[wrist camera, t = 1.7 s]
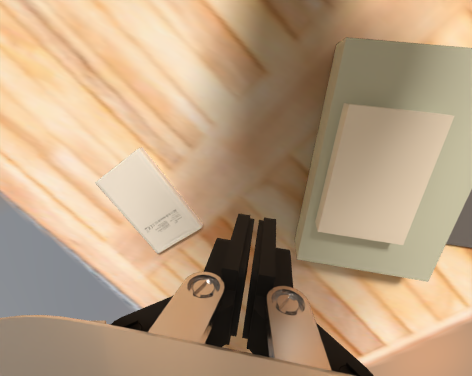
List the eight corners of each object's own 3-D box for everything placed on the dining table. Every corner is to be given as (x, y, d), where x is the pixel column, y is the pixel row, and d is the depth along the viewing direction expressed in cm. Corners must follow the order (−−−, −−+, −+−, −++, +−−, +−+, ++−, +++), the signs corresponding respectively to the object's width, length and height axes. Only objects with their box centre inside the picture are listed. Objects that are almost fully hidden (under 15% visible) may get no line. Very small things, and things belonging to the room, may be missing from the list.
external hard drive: (144, 145, 32) (204, 222, 35) (101, 179, 35) (160, 248, 38) (138, 148, 31) (201, 228, 34) (93, 183, 33) (156, 255, 36)
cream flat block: (343, 102, 23) (349, 104, 21) (440, 113, 22) (454, 115, 21) (315, 221, 28) (317, 231, 26) (394, 234, 27) (403, 245, 25)
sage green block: (336, 44, 25) (346, 37, 21) (495, 58, 24) (535, 53, 20) (294, 240, 33) (296, 259, 30) (410, 259, 32) (428, 281, 28)
